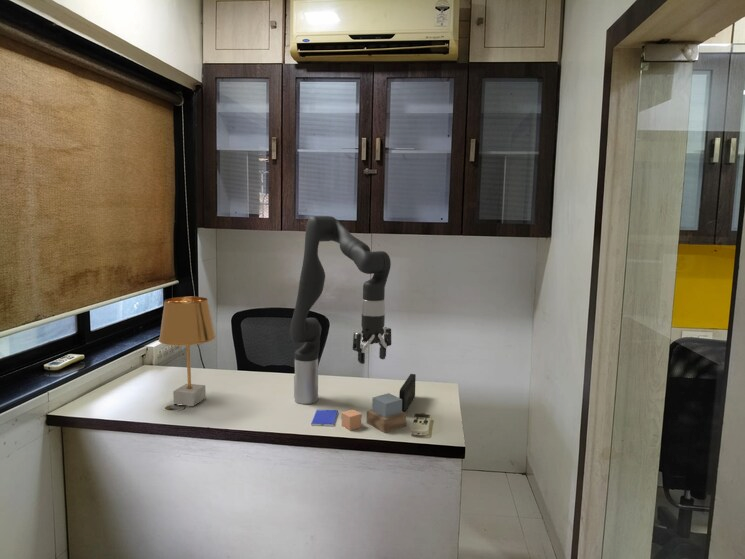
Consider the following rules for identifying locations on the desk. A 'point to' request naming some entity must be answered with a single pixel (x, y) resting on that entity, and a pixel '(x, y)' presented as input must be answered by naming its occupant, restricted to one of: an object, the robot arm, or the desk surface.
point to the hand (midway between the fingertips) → (372, 361)
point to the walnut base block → (386, 421)
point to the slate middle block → (387, 405)
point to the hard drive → (324, 418)
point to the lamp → (187, 337)
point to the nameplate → (407, 392)
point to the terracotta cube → (351, 419)
